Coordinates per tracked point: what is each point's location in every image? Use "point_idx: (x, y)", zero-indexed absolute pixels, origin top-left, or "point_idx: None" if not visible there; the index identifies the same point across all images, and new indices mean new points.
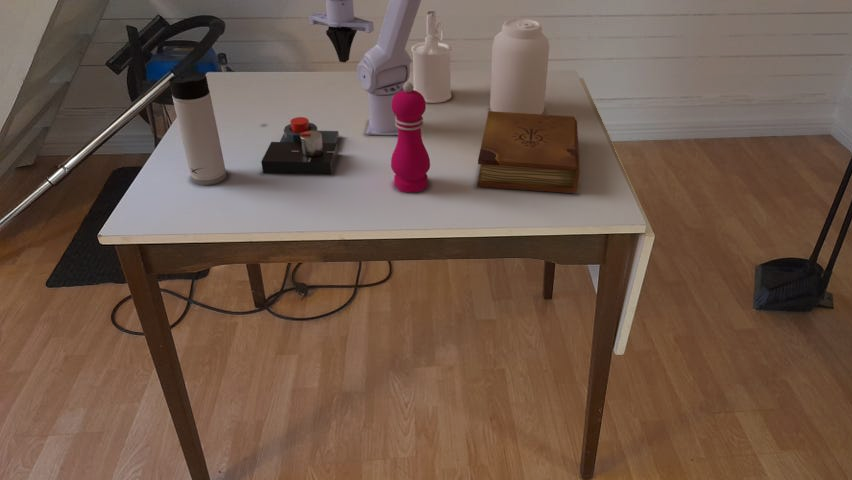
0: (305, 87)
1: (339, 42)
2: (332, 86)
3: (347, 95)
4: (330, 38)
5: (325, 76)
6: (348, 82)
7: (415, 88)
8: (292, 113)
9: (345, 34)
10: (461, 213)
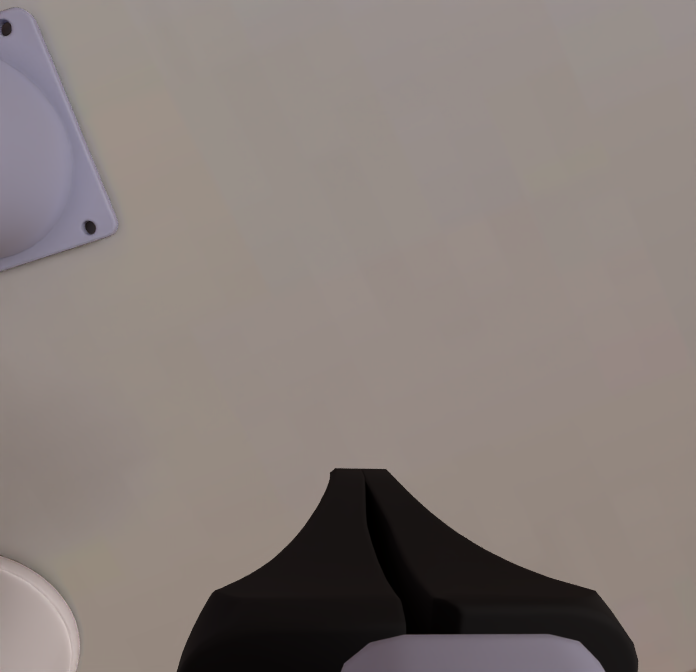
0: (649, 498)
1: (367, 556)
2: (521, 559)
3: None
4: (514, 570)
5: None
6: None
7: (2, 616)
8: (582, 158)
9: (209, 629)
10: None
